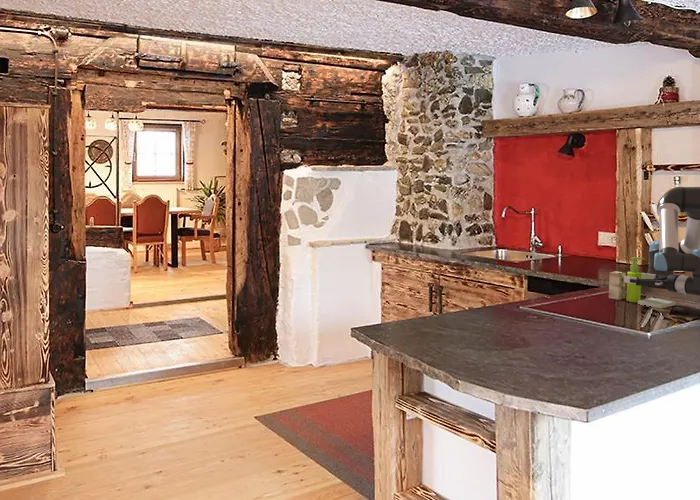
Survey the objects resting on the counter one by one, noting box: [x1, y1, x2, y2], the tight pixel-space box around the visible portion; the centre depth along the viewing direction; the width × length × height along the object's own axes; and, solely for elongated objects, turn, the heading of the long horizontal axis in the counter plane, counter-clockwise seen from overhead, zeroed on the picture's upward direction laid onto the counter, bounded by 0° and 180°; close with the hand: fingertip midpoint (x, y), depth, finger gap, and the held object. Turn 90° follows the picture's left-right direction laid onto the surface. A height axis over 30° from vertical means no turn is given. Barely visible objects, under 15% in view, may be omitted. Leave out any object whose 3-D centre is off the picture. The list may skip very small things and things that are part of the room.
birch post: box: [608, 270, 627, 301], centre depth 308 cm, size 5×5×12 cm
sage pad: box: [637, 297, 676, 309], centre depth 293 cm, size 11×11×2 cm
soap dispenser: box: [625, 256, 645, 303], centre depth 300 cm, size 6×7×20 cm
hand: (633, 277), depth 301 cm, fingers open, 13 cm apart
